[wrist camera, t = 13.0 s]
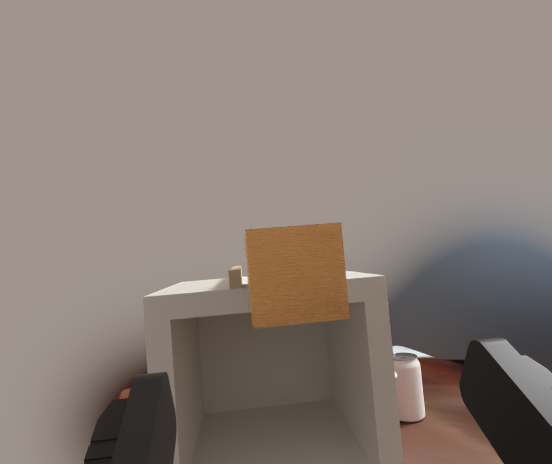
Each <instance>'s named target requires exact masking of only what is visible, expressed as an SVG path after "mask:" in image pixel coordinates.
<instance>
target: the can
mask: <svg viewBox="0 0 552 464" xmlns="http://www.w3.org/2000/svg"><path fill="white" fill-rule="evenodd" d="M393 360H394V370H395V372H396V374H397V377H396V378H395V380H396V390H397V401H398V411H399V421H402V422H418V421H421V420H423V418H424V417H425V407H424V397H423V387H422V378H421V368H420V363H419V361H418V360H417V355H415V354H412V353H394V354H393Z"/></svg>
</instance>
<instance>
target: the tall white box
mask: <svg viewBox="0 0 552 464" xmlns="http://www.w3.org/2000/svg"><path fill="white" fill-rule="evenodd" d="M228 273H229V278H224V279H212V280H201V281H189V282H180V283H178V284H175V285H173V286H170V287H167V288H165V289H162V290H160V291H157V292H155V293H152V294H149V295H147V296H144V297H143V303H144V318H145V319H144V320H145V336H146V353H147V369H148V374H149V373H158V372H167V374H168V377H169V382H170V387H171V392H172V397H173V402H174V407H175V413H176V424H177V432H176V444H175V452H174V461H173V464H404V462H403V452H402V442H401V431H400V421H399V411H398V401H397V390H396V380H395V370H394V360H393V349H392V339H391V329H390V319H389V308H388V298H387V289H386V278H385V275H376V274H368V273H359V272H351V271H346V282H347V293H348V303H349V314H350V319H345V320H335V321H325V322H315V323H304V324H294V325H284V326H274V327H263V328H253V326H252V319H251V312H250V304H249V291H248V278H247V277H242V269H241V266H233V268H231V269H230V270H229V271H228Z"/></svg>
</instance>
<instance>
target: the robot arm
mask: <svg viewBox="0 0 552 464" xmlns="http://www.w3.org/2000/svg"><path fill="white" fill-rule="evenodd" d="M460 392H461V396H462V399H463V401H464V403H465V405H466V407H467V408H468V410H469V411H470V413H471V414H472V416H473V418H474V419H475V421H476V422H477V424H478V425H479V427H480V428H481V430H482V431H483V433H484V434H485V436H486V437H487V439H488V440H489V442H490V443H491V445H492V446H493V448H494V449H495V451H496V452H497V454H498V456H499V457H500V459H501V460H502V462H503V463H504V464H552V373H551V372H550V371H549V370H548V369H546V368H545V367H543V366H542V365H540V364H539V363H537V362H536V361H534V360H532V359H531V358H529V357H528V356H526V355H524V356H521V355H520V354H519V353H518V352H517V351H516V350H515V349H514V348H513V347H512V346H511V345H510V343H509V342H508V341H506V340H505V339H503V338H490V339H480V340H473V341H471V342H470V344H469V346H468V350H467V355H466V358H465V362H464V366H463V370H462V375H461V379H460ZM176 432H177V424H176V413H175V407H174V402H173V397H172V392H171V387H170V382H169V377H168V374H167V372H158V373H149V374H141V375H140V374H139V375H136V376H135V377H134V379H133V382H132V386H131V390H130V393H129V397H128V398H126V399H117V400H113V401H112V402H111V403H110V404H109V406H108V407H107V408H106V410H105V411H104V412H103V413H102V415H101V416H100V417H99V418H98V420H97V423H96V426H95V429H94V432H93V436H92V438H91V444H90V446H89V447H88V450H87V453H86V456H85V459H84V464H173V461H174V452H175V444H176Z"/></svg>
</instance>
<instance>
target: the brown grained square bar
mask: <svg viewBox="0 0 552 464" xmlns="http://www.w3.org/2000/svg"><path fill="white" fill-rule="evenodd" d="M245 250H246V251H245V252H246V264H247V278H248V291H249V304H250V312H251V319H252V326H253V328H263V327H274V326H284V325H294V324H304V323H315V322H325V321H335V320H345V319H350V314H349V303H348V293H347V282H346V271H345V261H344V249H343V238H342V228H341V223H328V224H315V225H304V226H303V225H302V226H288V227H275V228H263V229H249V230H245Z"/></svg>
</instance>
